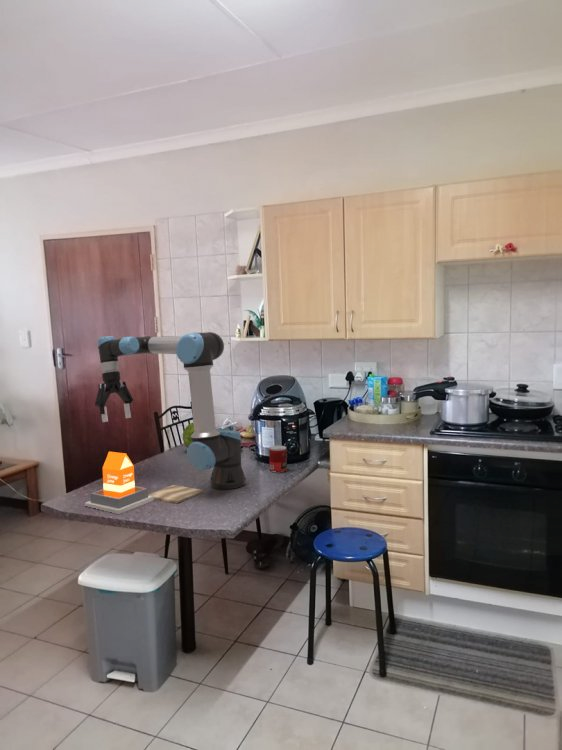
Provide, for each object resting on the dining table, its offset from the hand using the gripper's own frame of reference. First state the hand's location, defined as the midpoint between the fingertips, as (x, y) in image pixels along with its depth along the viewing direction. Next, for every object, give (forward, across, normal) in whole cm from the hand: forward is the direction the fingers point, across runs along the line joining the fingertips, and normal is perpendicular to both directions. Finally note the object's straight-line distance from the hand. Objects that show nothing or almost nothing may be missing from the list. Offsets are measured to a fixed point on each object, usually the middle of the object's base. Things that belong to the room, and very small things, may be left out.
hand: (117, 420), depth 248 cm
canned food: (+34, -44, +51) cm, 76 cm away
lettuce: (+24, -62, -5) cm, 67 cm away
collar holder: (+31, +23, +20) cm, 44 cm away
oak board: (+33, +6, +32) cm, 46 cm away
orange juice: (+32, +23, +20) cm, 44 cm away
